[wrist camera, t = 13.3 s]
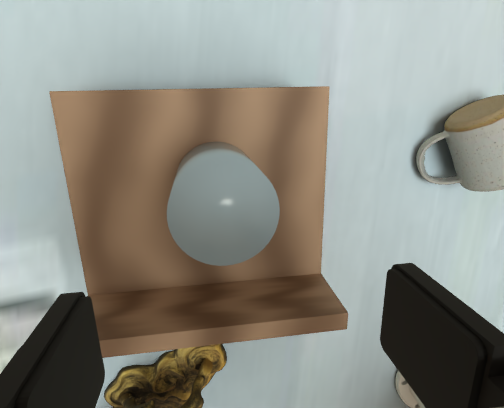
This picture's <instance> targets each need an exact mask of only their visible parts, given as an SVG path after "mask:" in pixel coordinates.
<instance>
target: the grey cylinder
mask: <svg viewBox="0 0 504 408" xmlns="http://www.w3.org/2000/svg"><path fill="white" fill-rule="evenodd" d="M279 213H280V208H279V201H278V196H277V194H276V191H275V189H274V187H273V185H272V183H271V182H270V181H269V179H268V178H267V177H266V176H265V175H264V174H263V172H262V171H261V170H260V169H259V168H258V167H257V166H256V165H255V164H254V162H253V161H252V160H251V159H250V158H249V157H248V156H247V155H246V154H245V153H244V152H243V151H242V150H241V149H239V148H238V147H236V146H234V145H232V144H229V143H226V142H207V143H203V144H201V145H198V146H197V147H195V148H193V149H192V150H190V151H189V152H188V153H187V154H186V155H185V156H184V158H183V159H182V160H181V162H180V164H179V166H178V169H177V172H176V176H175V179H174V183H173V186H172V190H171V193H170V197H169V201H168V205H167V222H168V227H169V230H170V233H171V235H172V237H173V239H174V240H175V242H176V243H177V245H178V246H179V247H180V248H181V249H182V250H183V251H184V252H185V253H186V254H187V255H189V256H190V257H192V258H193V259H195V260H198V261H200V262H203V263H205V264H210V265H217V266H227V265H234V264H238V263H241V262H244V261H246V260H248V259H250V258H252V257H254V256H255V255H256V254H258V253H259V252H260V251H261V250H263V249H264V248H265V246H266V245H267V244H268V243H269V242H270V240H271V239H272V237H273V235H274V233H275V231H276V228H277V225H278V221H279Z"/></svg>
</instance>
